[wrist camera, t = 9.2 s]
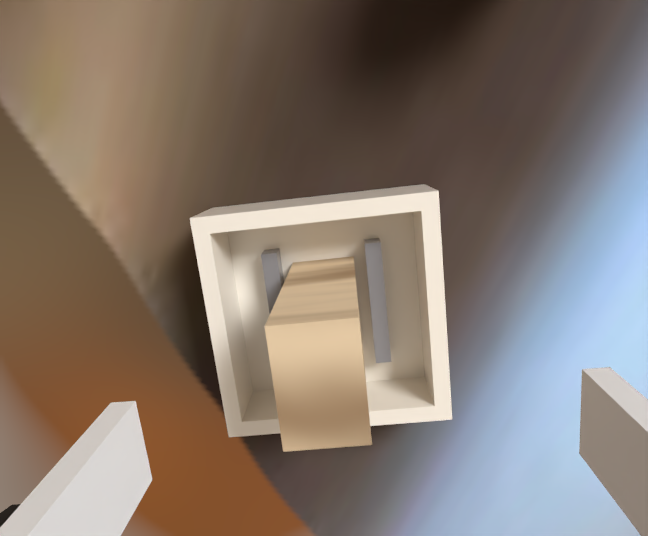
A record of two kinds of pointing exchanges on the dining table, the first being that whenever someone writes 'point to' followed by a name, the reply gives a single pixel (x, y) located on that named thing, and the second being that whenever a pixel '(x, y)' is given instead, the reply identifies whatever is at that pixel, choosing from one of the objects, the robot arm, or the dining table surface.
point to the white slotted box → (372, 288)
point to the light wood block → (319, 357)
